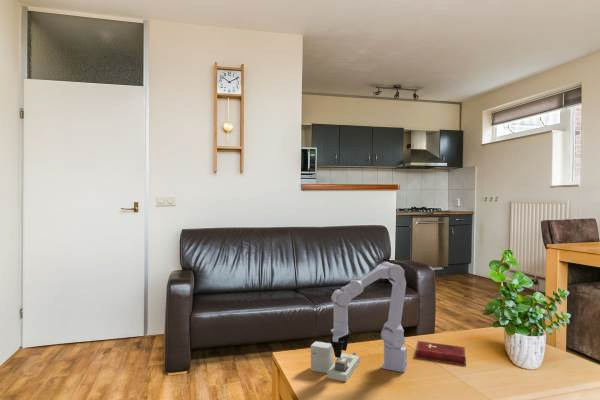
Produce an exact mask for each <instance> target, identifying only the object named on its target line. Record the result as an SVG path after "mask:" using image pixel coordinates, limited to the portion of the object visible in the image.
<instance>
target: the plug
mask: <svg viewBox="0 0 600 400" xmlns="http://www.w3.org/2000/svg"><path fill="white" fill-rule="evenodd" d="M335 361H336V362H335ZM335 361H334V363H335V371H341V372H346V370H347V358H342V357H340V358H337V357H336V359H335Z"/></svg>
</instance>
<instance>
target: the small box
mask: <svg viewBox="0 0 600 400" xmlns="http://www.w3.org/2000/svg"><path fill="white" fill-rule="evenodd" d="M333 354H334V350H333V347H332V345H331V343H330V342H323V341H314V342H313V343H312V344H310V371H313V372H318V373H322V374H327V371H328V370H329V369H330V367H331V366H332V365H333V364H334V361H333V359H334V355H333Z"/></svg>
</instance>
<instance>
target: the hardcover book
mask: <svg viewBox="0 0 600 400" xmlns="http://www.w3.org/2000/svg"><path fill="white" fill-rule="evenodd" d="M414 349H415V351H414V352H415V353H414V354H415V355H414V357H415V358H417V359H418V358H419V359H424V360H425V359H426V360H431V361H437V360H439V361H438V362H444V361H445V362H446V363H450V362H452V364H457V363H459V364H458V365H463V364H466V365H467V352H466V349H467V348H466V346H459V345H453V344H446V343H445V344H444V343H438V342H432V341H431V342H430V341H425V340H424V341H423V340H417V341H416V347H415V348H414Z"/></svg>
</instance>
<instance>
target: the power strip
mask: <svg viewBox="0 0 600 400" xmlns="http://www.w3.org/2000/svg"><path fill="white" fill-rule="evenodd" d="M341 357H342V358H347V370H346V372H341V371H335V362H336V360H335V361H334V362H333V365H332V366H331V367H330V369H329V370H328V371H327V373H326V375H327V376H326V378H327V379H331V380H337V381H339V382H340V381H341V382H346V383H347V381H348V380H349V379H350V378H351V376H352V374H353V373H354V371H355V370H356V368H357V366H359V363H360V361H361V360H360V358H361V357H360V355H357V353H356V352H353V353H352V354H350V353H343V352H341Z"/></svg>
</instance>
